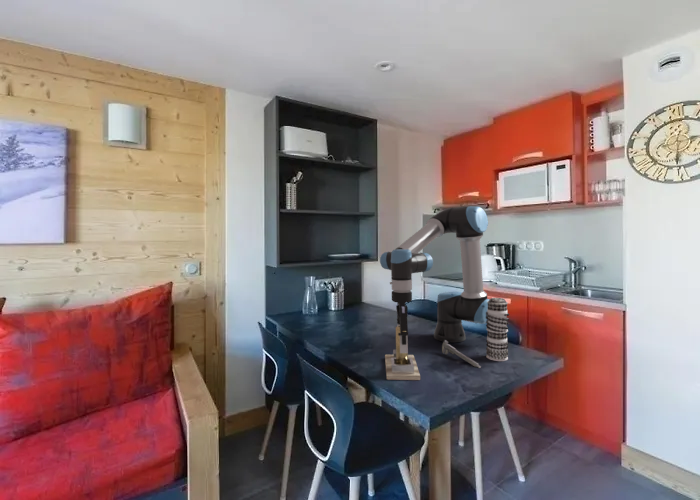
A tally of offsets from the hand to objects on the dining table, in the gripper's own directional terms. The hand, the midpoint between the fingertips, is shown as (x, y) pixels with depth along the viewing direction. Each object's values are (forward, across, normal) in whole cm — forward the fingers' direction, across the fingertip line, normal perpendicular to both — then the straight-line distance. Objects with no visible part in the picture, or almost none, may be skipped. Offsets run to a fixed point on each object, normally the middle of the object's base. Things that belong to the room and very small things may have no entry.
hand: (402, 346), depth 132 cm
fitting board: (+10, -5, 0) cm, 11 cm away
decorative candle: (+11, -18, +41) cm, 46 cm away
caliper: (+11, -15, +25) cm, 31 cm away
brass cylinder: (+9, 0, 0) cm, 9 cm away
